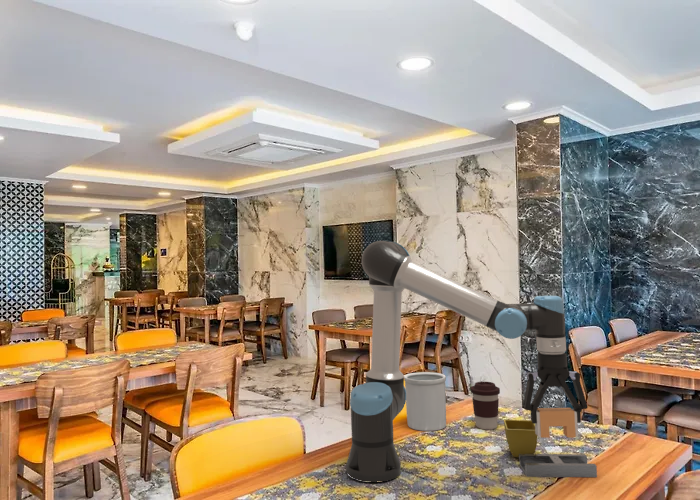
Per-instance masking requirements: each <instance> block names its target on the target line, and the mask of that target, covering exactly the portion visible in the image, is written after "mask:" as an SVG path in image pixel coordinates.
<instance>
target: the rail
mask: <svg viewBox="0 0 700 500" xmlns="http://www.w3.org/2000/svg"><path fill="white" fill-rule="evenodd" d="M518 461H519V464H518V465H519V466H520V468H521V469H522V471H523V473H524V475H525V476H526V477H527V478H528V477H529V478H531V477H532V478H533V477H535V478H536V477H538V478H539V477H540V478H541V477H544V478H548V477H549V478H598V471H597V468H598V467H597V465H596V463H588V456H587V454H586V453H585V454H584V453H579V454H576V453H534V454H519V457H518Z"/></svg>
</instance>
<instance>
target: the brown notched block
mask: <svg viewBox="0 0 700 500" xmlns="http://www.w3.org/2000/svg"><path fill="white" fill-rule="evenodd" d="M572 409H573V408H571V407H538V409H537V410H538V411H539V412H540V427H541V437H540V439H541V438H543V439H544V438H545V439H546V438H547V439H549V438H550V437H551V435H550V427H562V430H563V431H562V433H563V435H564V436H565V437H566V438H577V436H576V432H575V415H574V411H573V410H572Z"/></svg>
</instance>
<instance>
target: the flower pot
mask: <svg viewBox="0 0 700 500" xmlns="http://www.w3.org/2000/svg"><path fill="white" fill-rule="evenodd" d="M503 424H504V425H503V426H504V434H505V440H506V443H507V445H508V448H509V451H510V453H511V455H512V457H513V458H519V454H536V450H537V446H538V445H537V444H538V436H537V435H536V433H535V424H533V423H532V421H531V420H528V419H526V420H524V419H523V420H522V419H504V420H503Z"/></svg>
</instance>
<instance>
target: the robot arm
mask: <svg viewBox="0 0 700 500" xmlns="http://www.w3.org/2000/svg"><path fill="white" fill-rule="evenodd" d="M409 253H410V252H408V250H407V249H406V248H405V247H404V246H403V245H401V244H399V243H398V242H395V241H388V240H377V241H374V242H372V243H370V244H368V245H367V247H366V248H365V249H364V251H363V252H362V255H361V266H362V269H363V271H364V273H365V274H366V275H367V276H368V277H369V278H368V281H369V282H368V285H369V287H370V288H371V289H372V290H373V303H372V305H373V307H372V308H373V309H372V335H371V336H372V338H371V339H372V340H371V341H372V342H371V365H370V367H371V368H370V369H369V370H368V371H367V372H366V373H365V382H364V383H363V384H361V383H360V384H358V385H356V386H355V387H353V389H352V390H351V391H350V399H349V404H350V424H351V425H350V426H351V447H350V449H349V453H348V457H347V460H346V465H345V467H346V471H347V472H346V474H347V473H348V474H349V475H350V476H351V477H353V478H355V479H358V480H362V481H371V482H377V481H387V480H390V481H392V480H391V479H393V478H395V479H397V478H398V477H399V476H400V475H401V472H402V470H401V469H402V466H401V461H400V458H399V455H398V453H397V450H396V446H395V444H394V442H395V441H394V420H395V418H396V417H397V416H398V415H399V414H400V413H401V411H402V410H403V409H404V407H405V406H406V389H405V381H404V376H405V375H404V373H403V372H401V370H400V359H401V358H400V357H401V356H400V355H401V353H400V352H401V329H402V327H401V324H402V323H401V322H402V321H401V320H402V297H403V296H402V295H403V294H402V293H403V291H404V290H408V291H410V292H412V293H415V294H417V295H419V296H420V297H422V298H425V299H427V300H429V301H432V302H433V303H435V304H437V305H440V306H442V307H444V308H446V309H448V310H451V311H453V312H455V313H457V314H460V315H462V316H463V317H466V318H468V319H470V320H472V321H474V322H477V323H479V324H481V325H483V326H485V327H487V328H489V329H490V330H492V331H494V332H497V333H498V334H499V335H500V336H502V337H503V338H505V339H509V340H513V339H517V338H520V337H521V336H523V334H524V333H525V332H526V331H530V332H531V331H532V332H533V331H535V336H536V350H537V354H536V356H537V370H536V371H534V372H530V371H527V372H526V380H527V382H526V387H525V392H524V398H523V403H522V405H523V407H524V409H525V410H527V411H530V421H532V423H533V424H535V433H536V435H537V438H538V437H539V438H541V427H540V412H539V411H538V410H537V409H538V408H540V407H539V406H540V404H541V402H542V400H543V398H544V396H545V393H546V391H547V390H548V388H553V387H557V388H561V389H562V391H563V393H564V395H565V396H566V397H567V399H568V401H569V403H570V404H571V406H572V408H571V409H572V410H573V411H574V415H575V432H576V437H579V428H578V424H579V423H581V421H582V419H581V413H582V412H583V411H582V410H586V409H588V403H587V401H586V397H585V394H584V390H583V387H582V384H581V373H580V372H578V371H577V370H573V371H570V370H569V369H568V356H567V355H568V354H567V353H566V352H567V341H566V338H567V337H566V323H565V321H566V320H565V310H564V309H565V308H564V300H563V298H562V297H560V296H558V295H536V296H535V297H534V298H533V302H532V303H505V302H502V301H500V300H498V299H496V298H493V297H491V296H489V295H487V294H484V293H482V292H480V291H478V290H475V289H474V288H471V287H469V286H467V285H464V284H462V283H460V282H458V281H456V280H453V279H451V278H449V277H447V276H444V275H442V274H441V273H438V272H436V271H433V270H431V269H429V268H427V267H426V266H423V265H420V264H418V263H416V262H414V261H413V260H412V259H411V256H410V254H409ZM569 377H570V379H571V380H572V383H573V388H574V390H575V393H576V396H577V399H578V402H577V400H576V398H575V396H574V394H573V393H572V391H571V389H570V388H569V385H568V384H567V382H566V381H567V379H568V378H569ZM537 378H539V380H540V383H539V384H538V388H537V390H536V393H535V395H534V397H533V392H534V387H535V381H536V380H537ZM397 476H398V477H397ZM396 477H397V478H396ZM393 480H394V479H393ZM387 482H388V481H387Z"/></svg>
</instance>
